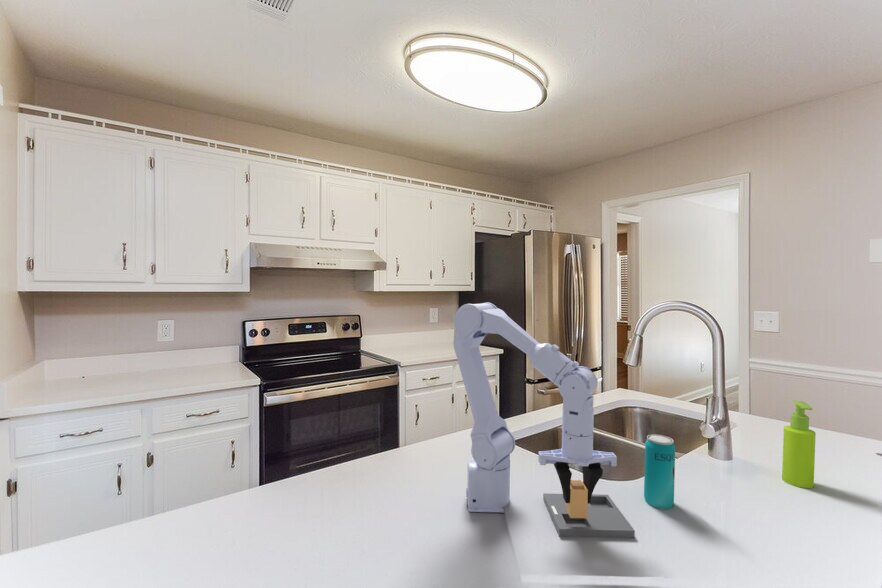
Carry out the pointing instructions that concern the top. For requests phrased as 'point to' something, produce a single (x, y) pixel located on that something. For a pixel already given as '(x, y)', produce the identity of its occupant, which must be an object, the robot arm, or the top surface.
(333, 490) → the top surface
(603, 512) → the socket board
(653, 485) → the beverage can
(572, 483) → the orange plug
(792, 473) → the soap dispenser
